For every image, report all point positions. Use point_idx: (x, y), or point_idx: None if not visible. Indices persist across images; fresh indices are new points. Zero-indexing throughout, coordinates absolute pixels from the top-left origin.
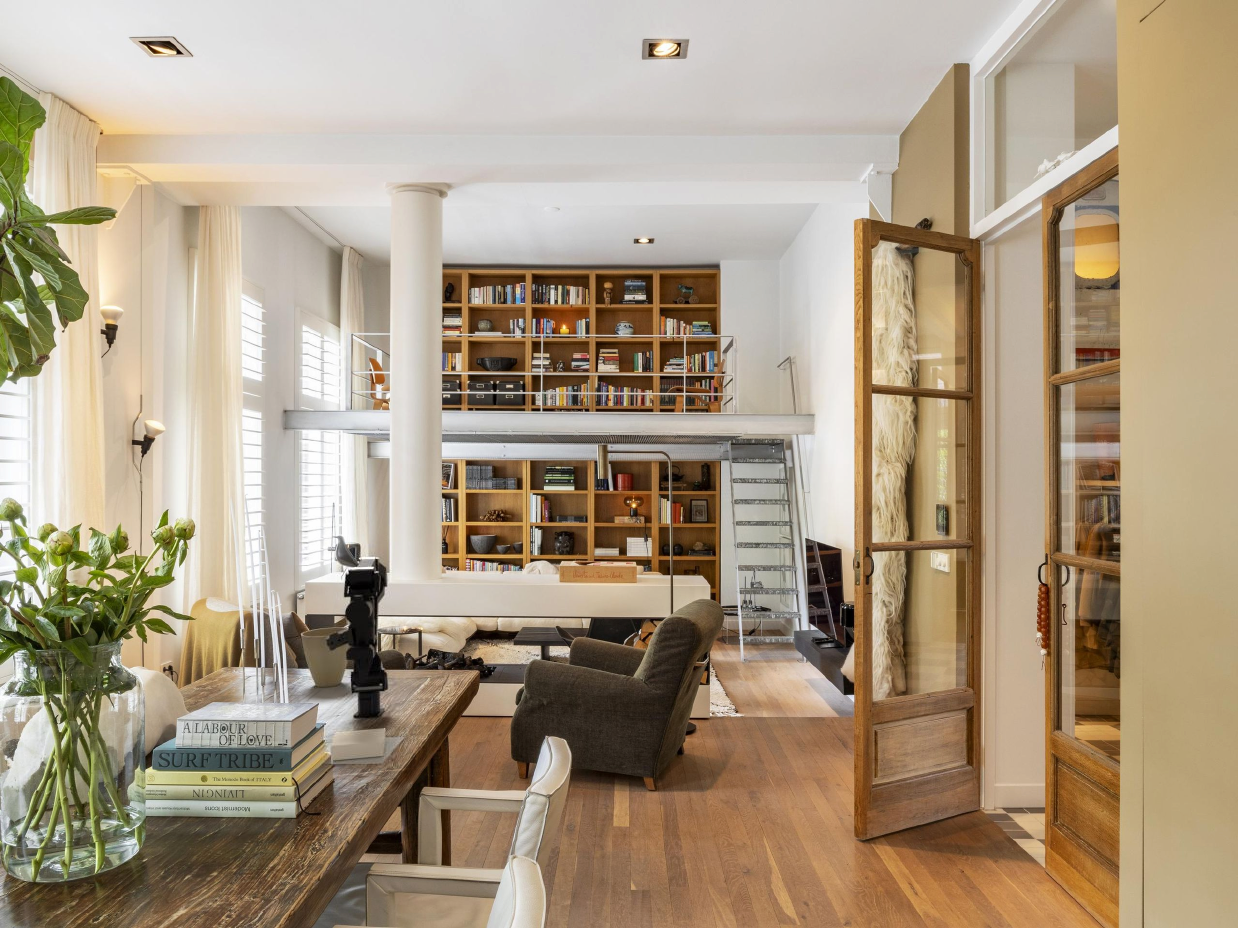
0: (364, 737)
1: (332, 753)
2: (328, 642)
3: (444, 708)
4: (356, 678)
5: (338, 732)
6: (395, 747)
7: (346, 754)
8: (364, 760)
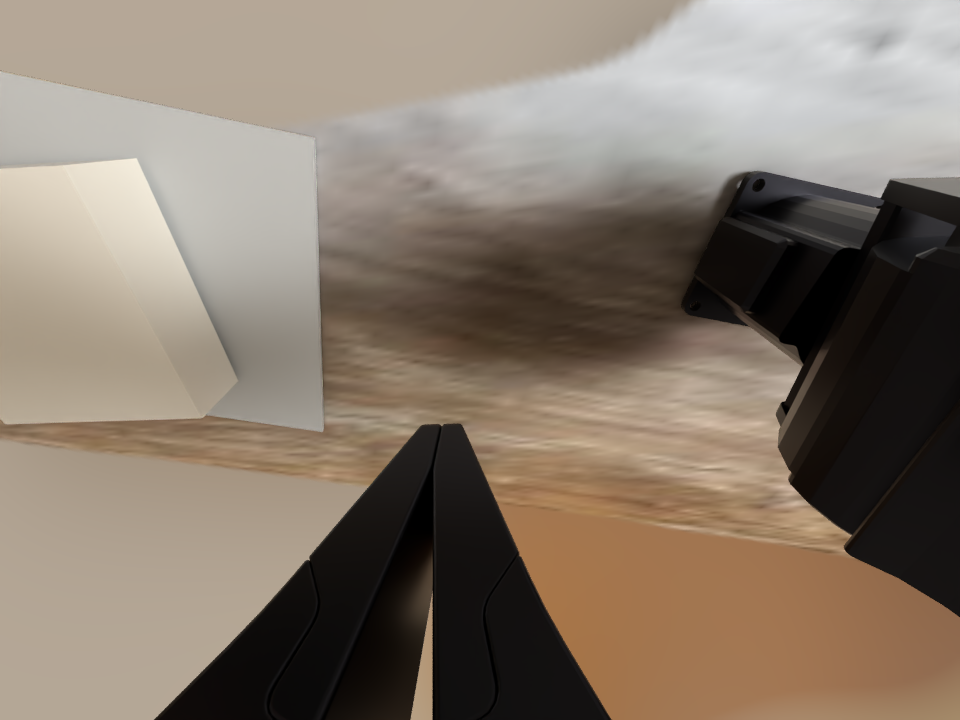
0: (30, 346)
1: None
2: None
3: (676, 519)
4: (909, 293)
5: (65, 187)
6: None
7: None
8: None
